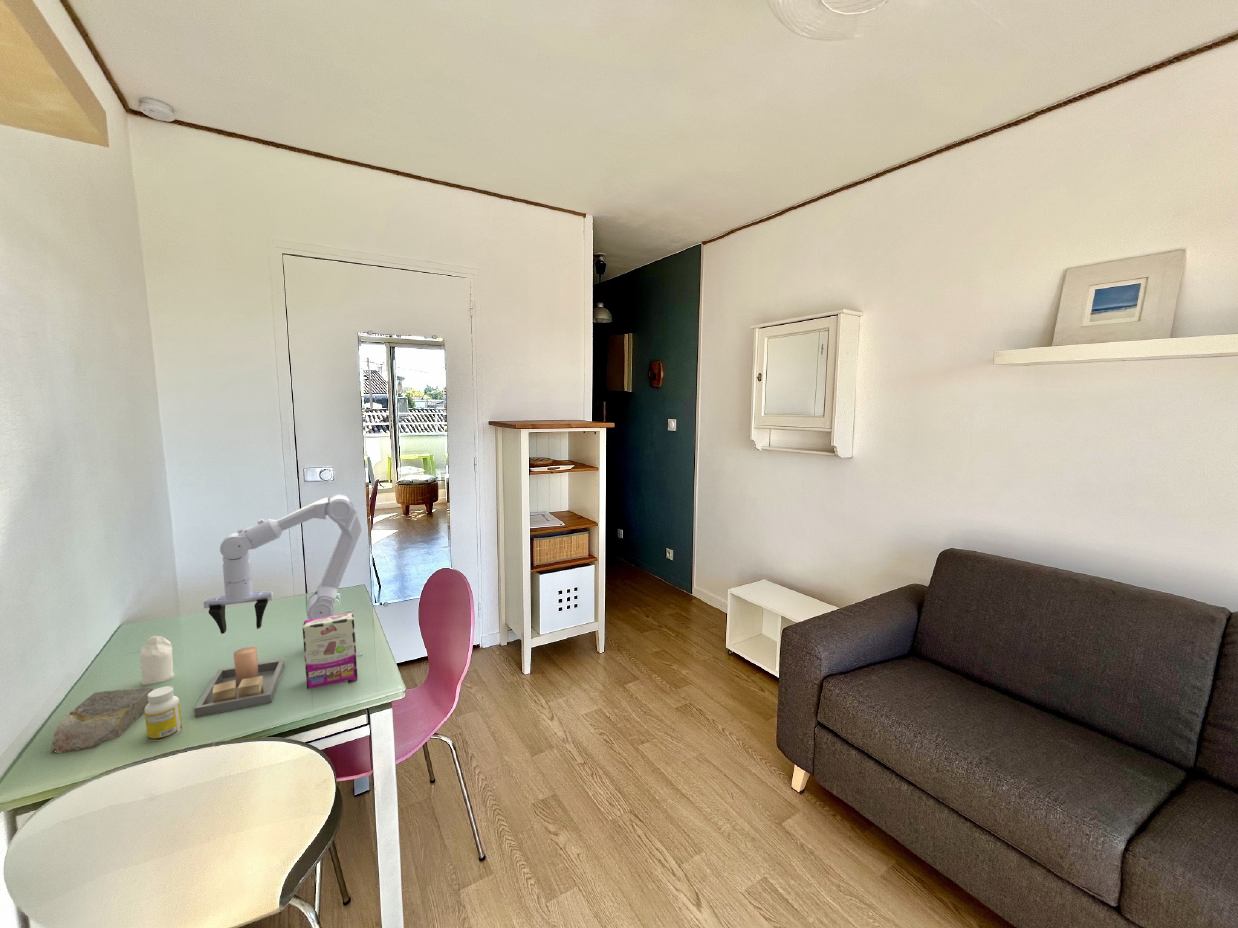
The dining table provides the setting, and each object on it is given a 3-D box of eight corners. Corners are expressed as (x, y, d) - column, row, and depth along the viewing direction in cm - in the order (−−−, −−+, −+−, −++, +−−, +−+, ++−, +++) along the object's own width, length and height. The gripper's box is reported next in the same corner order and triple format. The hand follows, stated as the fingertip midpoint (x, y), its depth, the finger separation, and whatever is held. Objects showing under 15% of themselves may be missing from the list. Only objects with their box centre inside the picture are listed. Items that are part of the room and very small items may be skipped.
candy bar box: (357, 671, 133) (354, 611, 131) (357, 680, 129) (354, 618, 127) (307, 681, 128) (303, 618, 126) (306, 691, 124) (302, 626, 122)
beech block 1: (236, 695, 120) (235, 679, 120) (235, 704, 117) (234, 687, 117) (215, 701, 118) (213, 684, 118) (213, 709, 115) (212, 693, 114)
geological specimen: (155, 683, 118) (115, 717, 104) (156, 709, 118) (116, 746, 104) (96, 689, 114) (46, 726, 100) (97, 716, 115) (47, 756, 101)
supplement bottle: (161, 727, 109) (157, 684, 108) (188, 726, 110) (184, 683, 109) (140, 744, 104) (135, 699, 103) (168, 742, 105) (164, 698, 103)
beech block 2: (263, 691, 122) (262, 675, 122) (260, 700, 119) (258, 684, 118) (243, 695, 121) (242, 679, 120) (239, 704, 117) (237, 687, 117)
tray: (284, 668, 134) (284, 658, 134) (271, 704, 118) (270, 694, 118) (219, 679, 129) (218, 669, 128) (195, 719, 112) (194, 708, 112)
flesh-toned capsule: (258, 675, 130) (256, 645, 129) (259, 683, 126) (256, 652, 125) (235, 680, 127) (233, 650, 126) (235, 688, 123) (233, 657, 122)
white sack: (165, 627, 130) (174, 632, 128) (169, 671, 132) (178, 678, 129) (134, 636, 125) (142, 642, 122) (138, 682, 127) (147, 689, 124)
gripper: (274, 571, 140) (277, 619, 141) (208, 578, 133) (212, 628, 135) (268, 579, 133) (272, 629, 135) (199, 587, 127) (203, 639, 129)
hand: (241, 629), depth 134 cm, fingers open, 7 cm apart
